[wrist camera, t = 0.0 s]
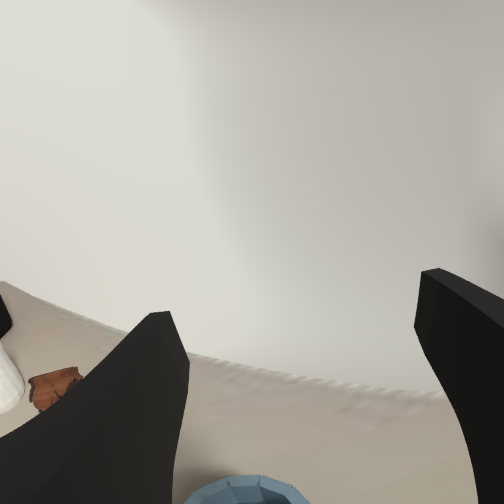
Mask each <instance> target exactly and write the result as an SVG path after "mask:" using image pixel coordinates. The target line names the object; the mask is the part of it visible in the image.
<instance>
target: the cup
mask: <svg viewBox="0 0 504 504" xmlns="http://www.w3.org/2000/svg"><path fill="white" fill-rule="evenodd" d="M24 389H25V385H24V382H23V380H22V377H21V375H20V373H19V372H18V370H17V368H16V367H15V365H14V364H13V362H12V361H11V359H10V358H9V356H8V355H7V353H6V352H5V350H4V348H3V346H2V344H1V341H0V415H2V414H5V413H7V412H9V411H10V410H12V409H13V408H14V407H15V406H16V405H17V404H18V403H19V402H20V401H21V399H22V397H23V395H24Z"/></svg>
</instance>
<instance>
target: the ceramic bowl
mask: <svg viewBox="0 0 504 504" xmlns="http://www.w3.org/2000/svg"><path fill="white" fill-rule="evenodd" d="M197 491H198V492H196V491H194V492H193V493H192V494H191V496H190V497H189V498H188V499H187V500H186V501H185V502H184V503H183V504H310V503H309V502H308V501H307V500H306V499H305V498H304V497H303V495H302V494H301V493H300V492H299V491H298V490H297V489H296V488H295V487H293V485H290V484H287V483H284V482H281V481H278V480H275V479H272V478H269V477H267V476H264V475H262V476H261V475H247V476H228V478H226V477H224V478H222V479H220V480H217V481H215V482H213V483H211V484H208V485H206V486H204V487H201V488H199V489H197Z"/></svg>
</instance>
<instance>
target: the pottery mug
mask: <svg viewBox="0 0 504 504" xmlns="http://www.w3.org/2000/svg"><path fill="white" fill-rule="evenodd" d="M82 378H83V376H81V375H80V374H79V372H78V367H70V368H65V369H61V370H57V371H54V372H50V373H47V374H43V375H39V376H35V377H32V378H30V379H29V380H28V383H30V384H31V386H32V387H31V390H30V394H29V401H30V403H31V402H32V397H33V403H34V406H35V408H37V409H39V413H41V412H43V411H44V410H46V409H47V408H48V407H50V406H51V405H52V404H54V403H55V402H56V401H58V400H59V399H60V398H61V397H63V396H64V395H65V394H66V393H68V392H69V391H70V390H71V389H72V388H73V387H75V386H76V385H77V384H78V383H79V382H80V381H81V380H82Z"/></svg>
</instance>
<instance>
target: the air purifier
mask: <svg viewBox="0 0 504 504" xmlns="http://www.w3.org/2000/svg"><path fill="white" fill-rule="evenodd" d="M11 325H12V320H11V317H10V315H9V313H8V311H7V308H6V306H5V304H4V302H3V299H2V297H1V295H0V338H1V337H2V336H3V335H4V334H5V333H6V332H7V331H8V330H9V329H10V328H11Z"/></svg>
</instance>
